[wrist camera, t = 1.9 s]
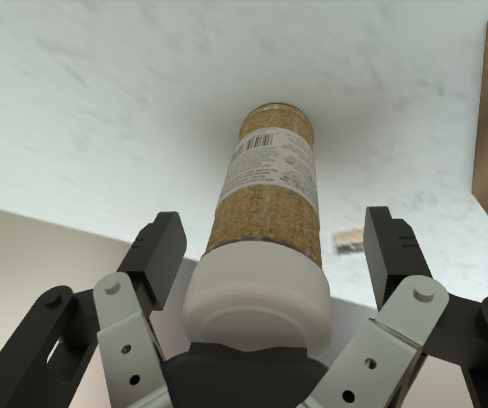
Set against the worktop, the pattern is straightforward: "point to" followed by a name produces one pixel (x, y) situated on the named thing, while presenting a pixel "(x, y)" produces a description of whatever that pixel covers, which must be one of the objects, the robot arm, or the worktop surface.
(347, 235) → the worktop surface
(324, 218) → the worktop surface
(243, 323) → the sprinkles bottle
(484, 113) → the walnut block
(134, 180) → the worktop surface
